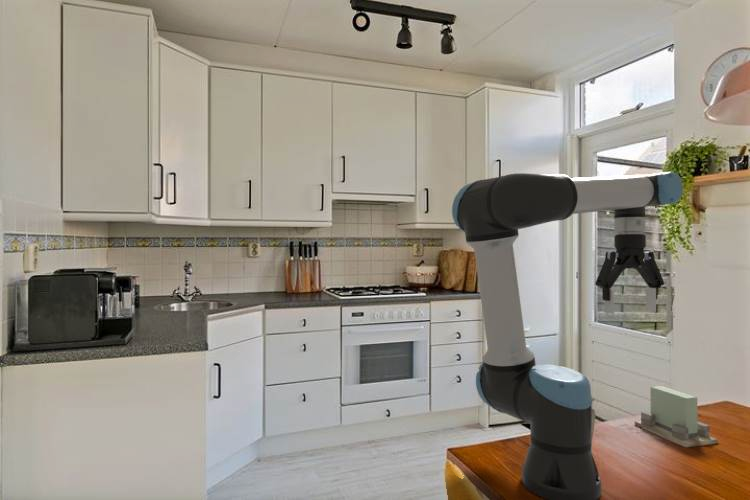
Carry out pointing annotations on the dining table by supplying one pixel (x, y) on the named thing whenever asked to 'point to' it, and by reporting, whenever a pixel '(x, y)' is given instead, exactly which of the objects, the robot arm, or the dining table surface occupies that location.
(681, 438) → the hinge bracket
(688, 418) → the door panel
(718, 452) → the dining table surface
